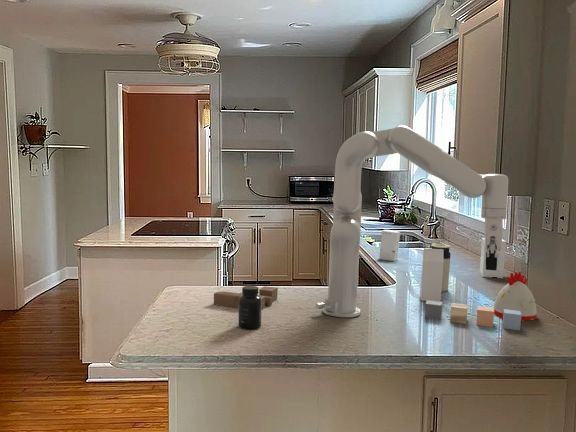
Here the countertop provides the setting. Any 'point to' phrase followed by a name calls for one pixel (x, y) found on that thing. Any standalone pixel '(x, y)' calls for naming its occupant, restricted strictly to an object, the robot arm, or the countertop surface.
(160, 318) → the countertop surface
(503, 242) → the supplement box
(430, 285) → the milk carton
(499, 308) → the kitchen timer
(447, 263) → the travel mug
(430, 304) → the charcoal block
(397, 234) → the skincare box
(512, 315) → the slate block
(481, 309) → the terracotta block
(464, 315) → the maple block
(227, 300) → the wooden block set
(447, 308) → the countertop surface
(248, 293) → the supplement bottle
